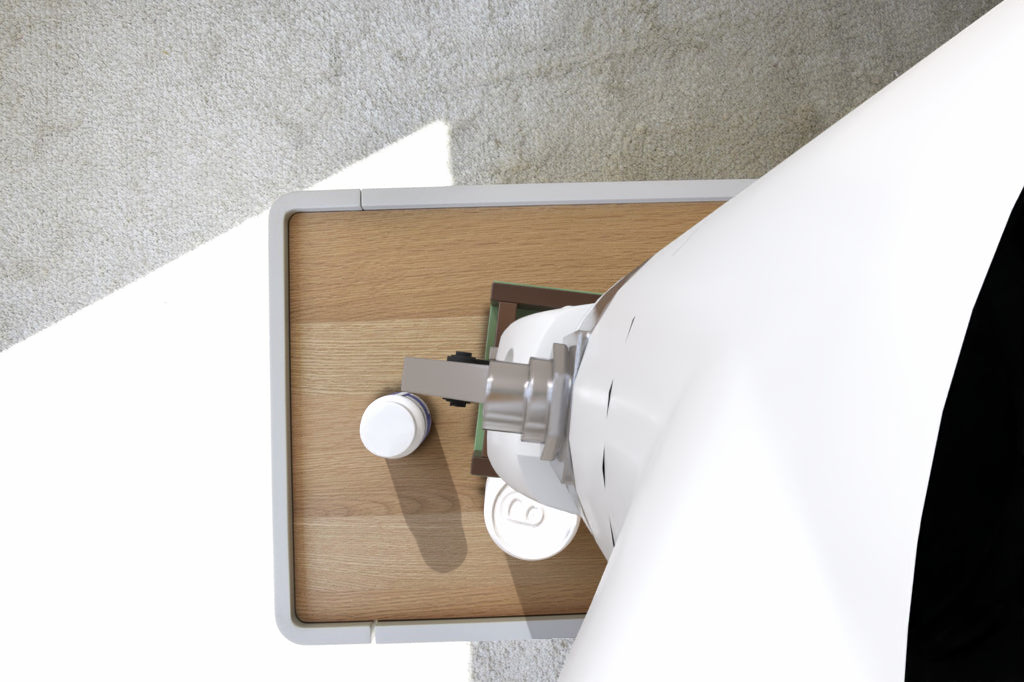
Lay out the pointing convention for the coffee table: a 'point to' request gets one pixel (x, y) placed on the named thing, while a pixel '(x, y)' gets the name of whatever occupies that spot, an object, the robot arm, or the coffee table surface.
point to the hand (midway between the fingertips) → (602, 392)
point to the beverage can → (525, 523)
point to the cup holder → (505, 310)
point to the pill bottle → (395, 425)
